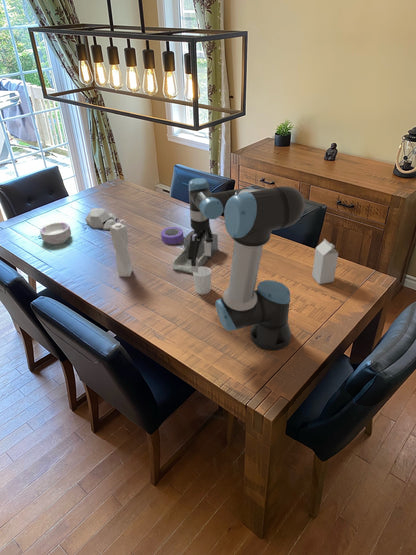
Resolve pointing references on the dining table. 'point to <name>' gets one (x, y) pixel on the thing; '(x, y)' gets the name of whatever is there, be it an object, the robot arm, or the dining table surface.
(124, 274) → the skyscraper
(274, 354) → the dining table surface
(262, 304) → the robot arm
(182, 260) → the grey cabinet
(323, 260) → the white milk carton
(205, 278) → the white cup
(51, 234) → the paper bowls
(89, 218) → the rock
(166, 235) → the tape roll
